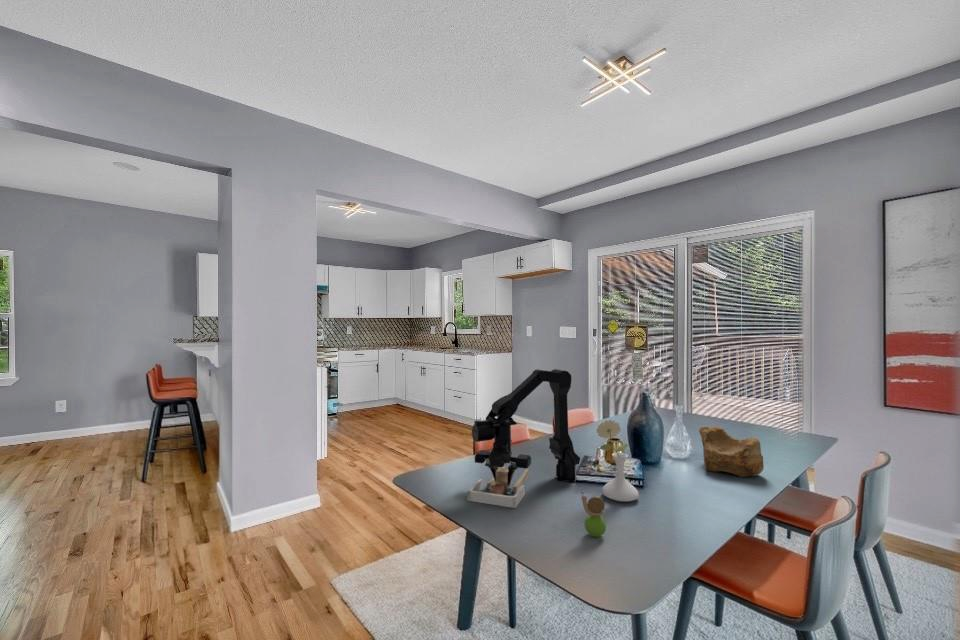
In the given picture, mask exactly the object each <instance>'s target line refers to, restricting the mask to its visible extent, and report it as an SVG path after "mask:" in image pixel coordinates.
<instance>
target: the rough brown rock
mask: <svg viewBox="0 0 960 640" xmlns="http://www.w3.org/2000/svg"><path fill="white" fill-rule="evenodd" d="M698 433H699V435H700V437H701V438H700V439H701V443H702V449H703V451H702V452H703V455H702V456H703V462H704V465H705V466H704V469H705V470H706V471H708V472H726V473H730V474H733V475H734V476H738V477H742V478H749V477H754V476H755V477H756V476H757V475H760V474H761V473H762V472H763V471H764V468H765V467H764V456H763V455H762V449H761V448H762V447H761V442H760V440H759V439H757V438H753V437H747V438H745V439H743V438H742V439H739V438H735V437H732V436H731V435H729V434H728V433H727V432H726V431H725V430H724V428H722V427H719V426H711V427H709V426H701V427H699V430H698Z"/></svg>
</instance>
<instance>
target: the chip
mask: <svg viewBox="0 0 960 640" xmlns="http://www.w3.org/2000/svg"><path fill="white" fill-rule="evenodd" d="M489 493H492V494H499V495H502V488H496V487H493V488H492V489H489Z"/></svg>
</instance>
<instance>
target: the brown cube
mask: <svg viewBox="0 0 960 640" xmlns="http://www.w3.org/2000/svg"><path fill="white" fill-rule="evenodd" d="M493 487H496V488H502V495H505V491H504V485H502V484H495V485H494V486H493Z"/></svg>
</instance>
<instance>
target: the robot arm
mask: <svg viewBox="0 0 960 640" xmlns="http://www.w3.org/2000/svg"><path fill="white" fill-rule="evenodd" d="M543 382H545V383H546V382H547V383H549V388H550V390H551V392H552V394H553V409H554V410H553V411H554V413H553V415H554V417H553V419H554V420H553V421H554V434H553V436H552V437H548V439H549V446H548V449H550V451H551V454H553V456H554V458H555V460H557V463H556V465H555V467H556V468H555V475H556V480H557V481H561V482H562V481H563V482H571V483H575V482H576V480H577V478H576V479H575V477H576V475H577V465H579V464H580V461H581V457H580V456H579V455H578V454H577V453H576V452H575V450H574V444H573V441H572V439H571V436H570V434H569V412H568V411H569V410H568V393H569V392H570V390H571V387H572V386H571V385H572V374H571V373H570V372H569V371H567V370H564V369H558V368H554V369H552V370H542V369H538V368H537V369H534V370H533V371H532V373H531V374H529V376H528V377H526V379H525V380H523V381H522V382H521V383H520V384H519V385H517V387H516V388H514V390H513V389H512V391H511V392H510V393H508V394H507V395H504V396H501V397H500V398H498V399H497V400H495V401H494V402H493V403H492V404H491V409H490V411H489V412H488V414H487V415H486V417H485V419H483V420H474V423H473V425H472V429H471V436H472V439H473V441H474V442H475V443H477V442H485V441H492V440H493V443H492V449H491V451H490V450H483V449H482V450H481V449H480V450H479V451H478V452H477V453H476V454H475V455H474V463H478V464H484V463H485V464H484V466H485V467H488V468H489V470H490V471H491V474H492V477H494V479H495V482H496V471H497V470H498V468H502V467H503V466H505V465H506V464H509V466H508V467H507V469H508V470H509V473H508V485H511V483H512V481H513V480H512V479H513V477H514V474H515V472H516V470H518V469H519V468H520V469H529V467H530V466H531V464H532V457H531V456H530V455H529V454H520V453H519V455H518V456H512V455H513V453H512V443H513V442H512V437H511V436H512V428H511V427H512V426H515V425H517V422H516V421H515V420H514V419H513V416H514V415H515V413H516V412H517V411H518V407H519V406H520V404H521V403H522V402H523V401H524V400H525V399H526V398H527V397H529V395H531V393H532V392H534V390H536V389H537V388H538V387H539V386H540V385H541V384H542V383H543Z"/></svg>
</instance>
